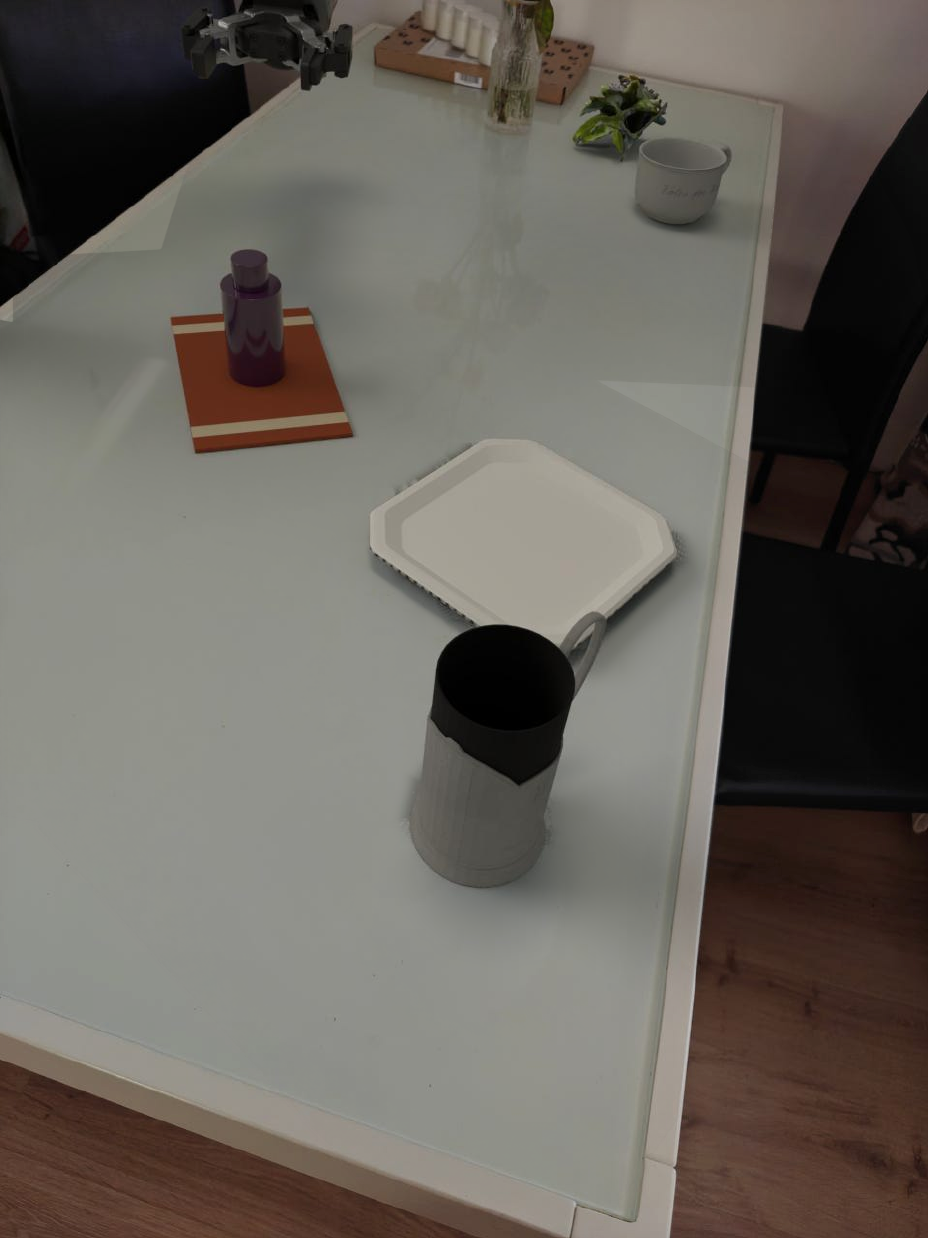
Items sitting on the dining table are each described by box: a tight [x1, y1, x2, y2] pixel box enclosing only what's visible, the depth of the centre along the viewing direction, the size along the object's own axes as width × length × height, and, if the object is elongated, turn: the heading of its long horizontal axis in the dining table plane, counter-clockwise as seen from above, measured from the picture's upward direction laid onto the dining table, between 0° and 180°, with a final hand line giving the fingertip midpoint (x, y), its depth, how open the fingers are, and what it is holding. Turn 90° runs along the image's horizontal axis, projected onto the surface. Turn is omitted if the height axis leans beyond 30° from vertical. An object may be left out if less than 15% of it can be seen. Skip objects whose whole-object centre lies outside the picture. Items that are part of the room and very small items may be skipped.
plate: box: [369, 438, 678, 651], centre depth 81 cm, size 21×21×2 cm
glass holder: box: [409, 611, 608, 888], centre depth 60 cm, size 9×14×15 cm, turn 138°
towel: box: [170, 306, 354, 454], centre depth 95 cm, size 22×14×1 cm, turn 17°
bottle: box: [219, 248, 286, 387], centre depth 91 cm, size 5×5×12 cm
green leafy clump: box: [572, 74, 668, 162], centre depth 138 cm, size 11×11×12 cm
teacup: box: [634, 136, 733, 225], centre depth 125 cm, size 14×11×8 cm
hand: (253, 71), depth 81 cm, fingers open, 8 cm apart
